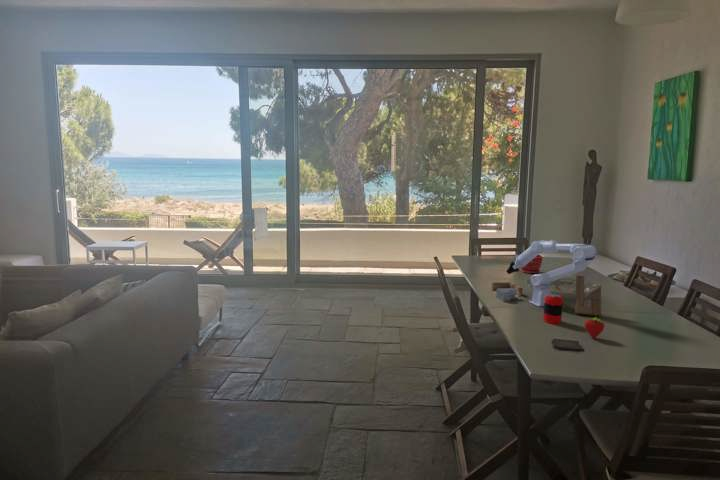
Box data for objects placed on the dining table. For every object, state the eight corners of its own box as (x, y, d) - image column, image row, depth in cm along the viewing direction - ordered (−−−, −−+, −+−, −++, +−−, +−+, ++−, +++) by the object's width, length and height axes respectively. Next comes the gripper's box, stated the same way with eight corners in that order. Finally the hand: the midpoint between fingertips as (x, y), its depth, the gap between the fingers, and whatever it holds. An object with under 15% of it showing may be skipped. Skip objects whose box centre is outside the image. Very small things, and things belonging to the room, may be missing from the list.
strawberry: (581, 334, 203) (583, 311, 201) (600, 336, 202) (602, 312, 200) (585, 339, 197) (587, 316, 196) (605, 341, 196) (607, 317, 195)
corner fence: (521, 295, 263) (522, 287, 263) (502, 296, 261) (502, 288, 261) (510, 289, 276) (511, 282, 275) (491, 290, 274) (492, 282, 273)
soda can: (550, 324, 215) (552, 298, 214) (539, 319, 223) (541, 294, 221) (564, 323, 217) (567, 297, 216) (553, 318, 225) (555, 293, 223)
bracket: (511, 297, 260) (512, 288, 259) (519, 301, 252) (519, 291, 252) (496, 297, 259) (496, 288, 258) (503, 301, 251) (503, 292, 250)
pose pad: (494, 292, 270) (494, 291, 270) (509, 291, 272) (509, 291, 272) (502, 297, 260) (502, 296, 260) (518, 296, 261) (518, 296, 261)
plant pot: (515, 271, 326) (517, 253, 324) (530, 269, 332) (532, 252, 330) (530, 275, 314) (531, 257, 313) (545, 273, 320) (546, 256, 318)
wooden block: (601, 315, 227) (601, 277, 231) (576, 312, 229) (576, 275, 233) (599, 315, 230) (599, 278, 234) (574, 313, 233) (575, 276, 237)
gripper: (527, 245, 259) (511, 258, 269) (515, 255, 250) (499, 269, 259) (537, 255, 258) (520, 268, 268) (525, 266, 248) (508, 279, 258)
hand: (510, 269), depth 263 cm, fingers open, 7 cm apart
